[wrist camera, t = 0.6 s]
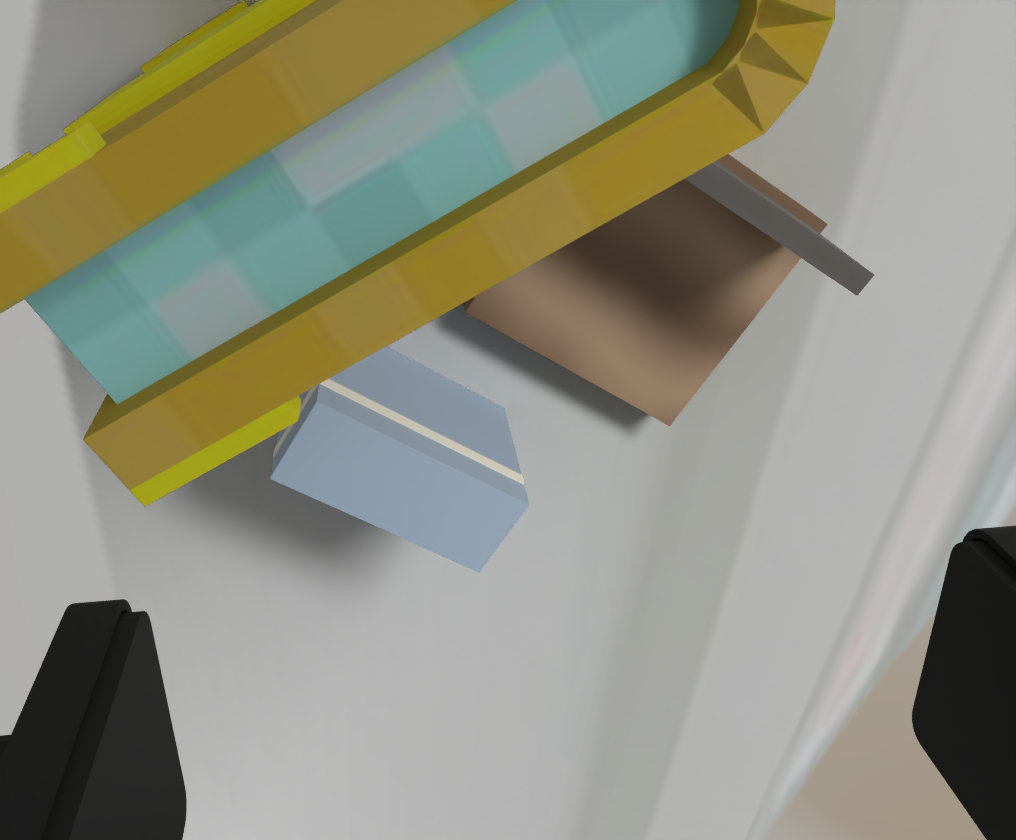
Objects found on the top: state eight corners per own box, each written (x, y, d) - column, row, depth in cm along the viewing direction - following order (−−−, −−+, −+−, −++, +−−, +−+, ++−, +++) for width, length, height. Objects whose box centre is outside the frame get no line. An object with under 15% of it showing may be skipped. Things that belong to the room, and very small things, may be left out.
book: (262, 192, 42) (144, 506, 20) (164, 49, 39) (-101, 241, 17) (605, -14, 40) (885, 93, 18) (530, -182, 37) (758, -298, 15)
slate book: (326, 313, 45) (316, 400, 37) (504, 407, 49) (529, 504, 41) (286, 381, 47) (268, 479, 39) (462, 467, 50) (479, 572, 42)
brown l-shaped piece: (608, 70, 42) (663, 110, 34) (810, 211, 46) (900, 276, 38) (461, 296, 46) (480, 379, 38) (659, 407, 50) (712, 502, 42)
